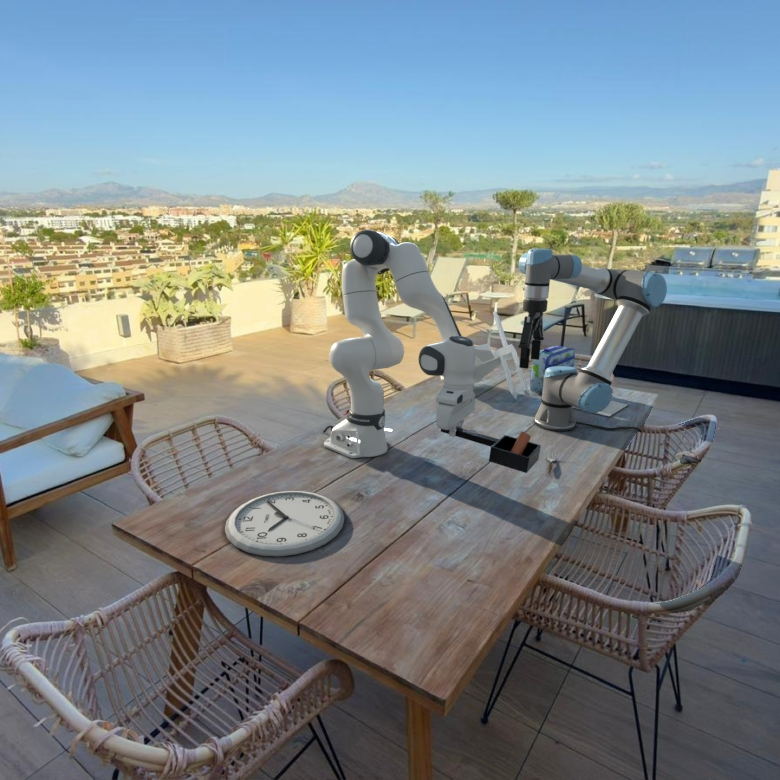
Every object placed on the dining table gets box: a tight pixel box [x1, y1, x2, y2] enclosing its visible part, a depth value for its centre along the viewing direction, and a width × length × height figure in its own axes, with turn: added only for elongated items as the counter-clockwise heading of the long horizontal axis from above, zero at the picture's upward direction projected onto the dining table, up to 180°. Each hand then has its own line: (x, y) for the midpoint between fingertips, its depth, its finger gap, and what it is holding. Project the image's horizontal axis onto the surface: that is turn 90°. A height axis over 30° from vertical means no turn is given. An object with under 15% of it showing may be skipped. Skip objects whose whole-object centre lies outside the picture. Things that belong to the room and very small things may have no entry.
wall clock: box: [224, 490, 345, 557], centre depth 134 cm, size 30×2×30 cm
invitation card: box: [573, 400, 629, 418], centre depth 226 cm, size 21×1×15 cm
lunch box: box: [529, 345, 576, 394], centre depth 244 cm, size 26×11×21 cm, turn 135°
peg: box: [511, 431, 532, 455], centre depth 152 cm, size 3×3×7 cm
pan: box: [440, 427, 542, 474], centre depth 156 cm, size 29×11×5 cm, turn 58°
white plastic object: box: [440, 310, 531, 400], centre depth 245 cm, size 37×45×31 cm
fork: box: [547, 449, 557, 475], centre depth 169 cm, size 3×16×2 cm, turn 160°
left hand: (455, 434), depth 160 cm, fingers closed on pan, 2 cm apart
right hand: (529, 363), depth 173 cm, fingers open, 13 cm apart
